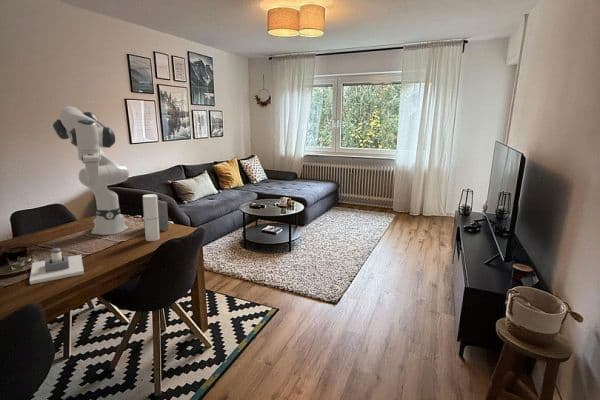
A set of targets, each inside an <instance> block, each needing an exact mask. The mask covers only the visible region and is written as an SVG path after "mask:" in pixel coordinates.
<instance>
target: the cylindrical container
mask: <svg viewBox="0 0 600 400" xmlns="http://www.w3.org/2000/svg"><path fill="white" fill-rule="evenodd" d="M157 197H158V195H157V194H154V193H153V194H152V193H151V194H150V193H149V194H144V195H142V209H143V208H144V214H143V223H144V222H145V228H144V233H145V234H144V235H145V241H147V242H156V241H158V240H160V230H159V219H158V203H157Z"/></svg>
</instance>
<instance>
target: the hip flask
mask: <svg viewBox="0 0 600 400" xmlns="http://www.w3.org/2000/svg"><path fill="white" fill-rule="evenodd" d="M157 203H158V219H159V231H161V232H167V231H169V218H168V216H169V215H168V214H169V213H168V201H163V200H159V197H158V196H157ZM142 211H143V213H142V214H143V215H144V208H143V207H142ZM143 225H144V229H145V222H144V221H143Z"/></svg>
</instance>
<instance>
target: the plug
mask: <svg viewBox="0 0 600 400" xmlns="http://www.w3.org/2000/svg"><path fill="white" fill-rule="evenodd" d="M50 256H51V257H50V258H52V263H56V262H62V256H63V255H62V248H60V247H54V248H51V249H50Z"/></svg>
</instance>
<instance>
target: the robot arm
mask: <svg viewBox="0 0 600 400" xmlns="http://www.w3.org/2000/svg"><path fill="white" fill-rule="evenodd" d="M52 130H53V132H54V134H55V135H56V136H57V137H58V138H60V139H62V140H68V139H70V144H72V145H73V146H75V147H76V148H77V155H78V156H77V157H78V160H79V161H81V162H82V164H83V165H84V166H85V167H83V168H82V169H80V170H79V173H78V180H79V182H80V183H81V184H82V185H83V186H84V187H86V188H88V189H90V190H91V192H92V193H93V195H94V197H95V203H96V209H95V210H96V211H95V213H96V217H95V218H94V219H93V222H92V223H93V225H94V226H93V228H92V230H91V235H100V236H105V235H106V236H108V235H116V234H120V233H123V231H125V230H129V227H128V226H127V225H126V224H125V217H124V215H123V214H121V207H120V203H119V195H118V194H117V192H115V191H114V190H111V189H109V188H108V185H115V184H121V183H123V182H126V181H127V180H128V178H129V176H130V172H129V169H128V168H127V167H126V166H125V165H123V164H120V163H118V162H116V161H114V160H112V159H111V158H110V157H109V156H107V154H106V153H105V151H104V150H103V149H102V148H106V149H109V148H111V147H112V146H113V145H115V143H116V135H115V132H114V131H113V130H112V129H111V128H110V127H108V126H107V127H106V126H105V125H103V124H102V123H101V122H100V121H98V118H97V117H96V116H95V114H93V113H92V112H90V111H87V112H86V111H83V112H82V111H81V110H80V109H78V108H77V107H75V106H71V105H65V106H64V107H61V109H60V111H59V119H56V121H54V122H53V124H52Z"/></svg>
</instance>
